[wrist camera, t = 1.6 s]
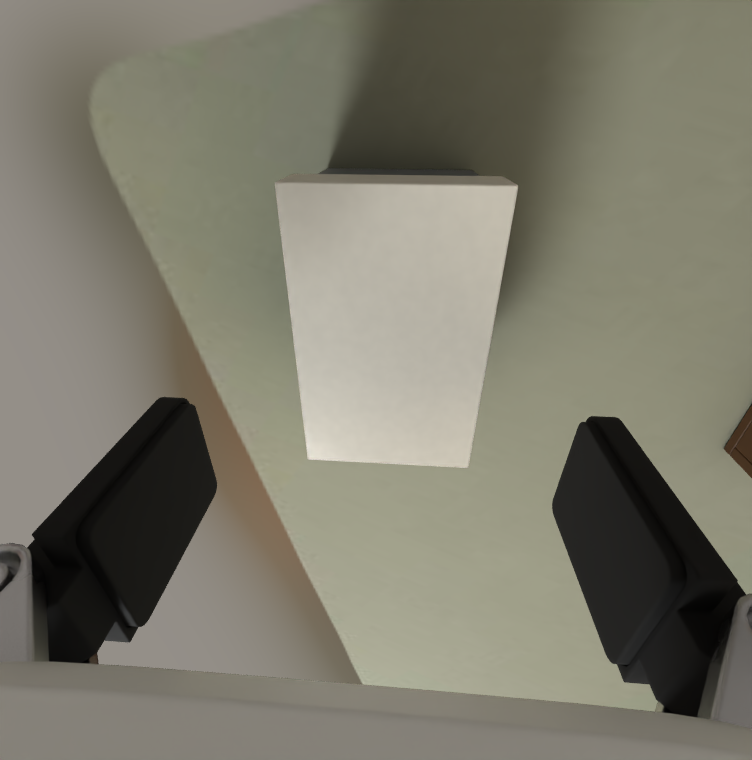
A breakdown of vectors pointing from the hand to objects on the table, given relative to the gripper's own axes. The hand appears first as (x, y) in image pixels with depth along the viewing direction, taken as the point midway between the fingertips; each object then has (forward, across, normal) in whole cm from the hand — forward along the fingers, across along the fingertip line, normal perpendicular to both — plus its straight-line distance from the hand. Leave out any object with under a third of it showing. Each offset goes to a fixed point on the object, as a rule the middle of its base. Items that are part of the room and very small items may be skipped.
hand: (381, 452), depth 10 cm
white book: (+6, 0, 0) cm, 7 cm away
